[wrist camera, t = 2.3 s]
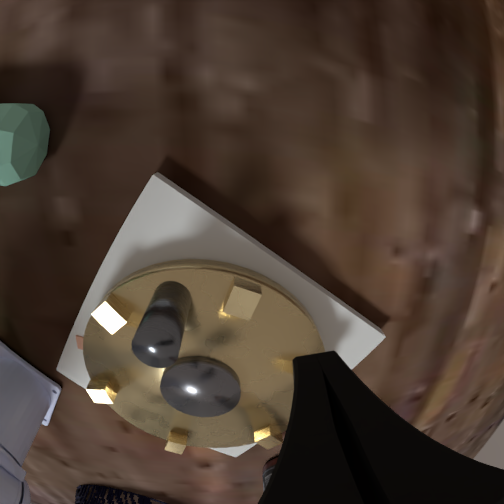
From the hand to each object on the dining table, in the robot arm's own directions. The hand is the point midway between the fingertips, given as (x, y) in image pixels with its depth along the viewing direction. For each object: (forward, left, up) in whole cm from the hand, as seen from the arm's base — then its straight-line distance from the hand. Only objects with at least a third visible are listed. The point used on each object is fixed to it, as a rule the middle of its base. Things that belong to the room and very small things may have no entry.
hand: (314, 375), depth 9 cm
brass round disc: (-9, 0, -8) cm, 12 cm away
